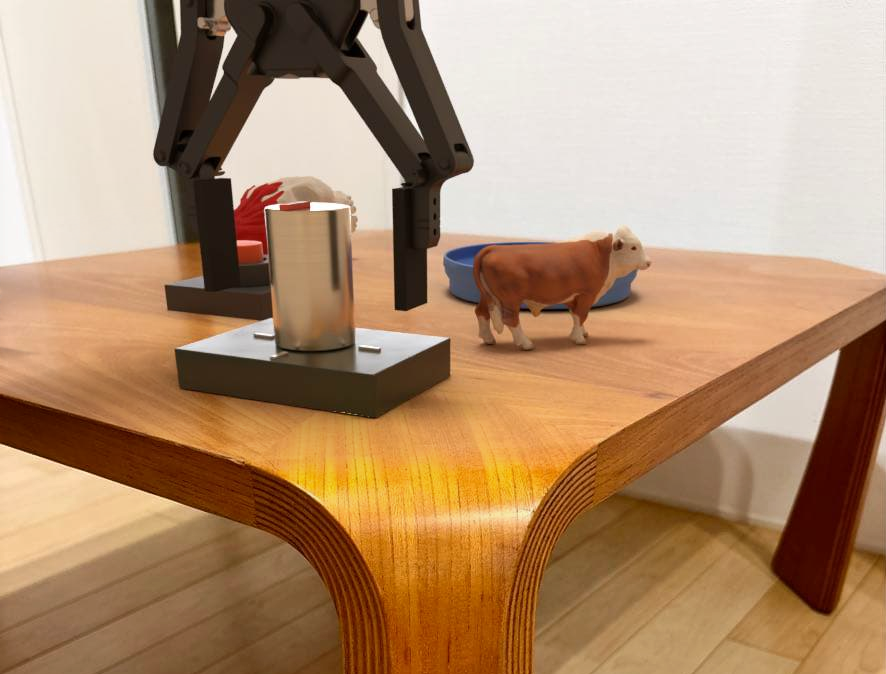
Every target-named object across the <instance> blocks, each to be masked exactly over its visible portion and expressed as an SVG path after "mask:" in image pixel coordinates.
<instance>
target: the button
mask: <svg viewBox="0 0 886 674" xmlns="http://www.w3.org/2000/svg"><path fill="white" fill-rule="evenodd" d="M237 250H238V260H239V263H253V262H261V261H264V259H263V246H262V242H259V241H250V240H238V241H237Z"/></svg>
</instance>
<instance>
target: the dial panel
mask: <svg viewBox="0 0 886 674" xmlns="http://www.w3.org/2000/svg"><path fill="white" fill-rule="evenodd" d="M355 339H356V340H355V343H354V344H352V345H350V346H348V347H345V348H341V349H336V350H329V351H293V350H287V349H283V348H280V347H278V346H277V345H276V344H275V338H274V325H273V318H269V319H266V320H263V321H261V320H259V321H257V322H254V323H251V324H247V325H244V326H241V327H238V328H235V329H232V330H228V331H225V332H222V333H219V334H216V335H213V336H210V337H207V338H204V339H200V340H198V341H194V342H191V343H188V344H185V345H181V346H178V347H175V348H174V358H175V365H176V374H177V380H178V388H179V389H182V390H188V391H189V390H190V391H196V392H202V393H209V394H216V395H222V396H229V397H235V398H241V399H246V400H247V399H248V400H254V401H261V402H267V403H274V404H279V405H287V406H294V407H299V408H306V409H312V408H314V409H313V410H319V409H322V410H321V411H325V410H328V411H327V412H332V411H336V412H335V413H338V412H345V413H351V414H357V415H356V416H358V415H363V416H362V417H364V416H369V417H368V418H371V417H376V416H377V417H379V416H381V415H383V414H384V412H385V413H386V412H388V411H390V410H392V409H394V408H396V407H397V406H400V405H401V404H403V403H405V402H406V401H408V400H409V398H410V399H411V398H413V397H415V396H417V395H418V394H420V393H422V392H425V390H427V389H429V388H432V387H434V385H436V384H438V383H440V382H442V381H444V380H445V379H447V378H449V377H450V376H451V337H445V336H435V335H427V334H419V333H418V334H417V333H407V332H399V331H391V330H383V329H381V330H380V329H373V328H363V327H355ZM393 407H394V408H393ZM315 408H316V409H315ZM345 413H344V414H345ZM382 413H383V414H382ZM351 414H350V415H351ZM380 414H381V415H380ZM378 415H379V416H378ZM377 417H376V418H377Z"/></svg>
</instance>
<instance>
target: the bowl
mask: <svg viewBox="0 0 886 674" xmlns="http://www.w3.org/2000/svg"><path fill="white" fill-rule="evenodd" d="M548 243H557V242H554V241H552V242H551V241H511V242H510V241H509V242H504V241H503V242H488V243H478V244H471V245H464V246H459V247H455V248H452V249H449V250H447V251H445V252H444V253H443V261H442V265H443V267H444V273H445V274H446V276H447V278H448V279H449V281H448V282H449V284H448V287H449V291H450V293H451V294H452V295H454V296H455V297H457V298H459V299H462V300H464V301H467V302H471V303H476V304H479V302H480V299H481V292H480V291H479V289H478V287H477V285H476V283H475V280H474V275H473V264H474V259H475V257H476V256H477V254H478V253H479V252H480V251H481V250H482V249H483V248H485V247H487V246H490V245H527V244H548ZM638 271H639V269H635V270H633V271H632V272H630V273H629V274H628V275H626V276H624V277H620V278H616V279H615V281H614V283H613V285H612V287H611V288H610V289H609V290H608V291H607V292H606V293H605V294H604V295H602V296H601V297H600V299H599V300H598V302H597V303H595V304H594V305H592V307H591V308H596V307H603V306H609V305H612V304H616V303H619V302H621V301H623V300H625V299H627V298H628V297H629V296H630V294H631V288H632V283H633V282H634V281H635V279H636V278H637V275H638ZM520 310H530V309H529V308H528V306H527V305H525V304H524V303H521V306H520ZM542 310H569V307H568V306H566V305H564V304H561V303H559V304H555V305H551V306H547V307H544V308H543V309H542Z"/></svg>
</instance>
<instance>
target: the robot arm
mask: <svg viewBox="0 0 886 674" xmlns="http://www.w3.org/2000/svg"><path fill="white" fill-rule="evenodd" d="M368 16H369V18H370V19H371V21H372V24H373V25H374V27H375V28H376V29H378V30H380V34H381V38H382V41H383V44H384V47H385V50H386V53H387V54H388V57H389V59H390V61H391V64H392V66H393V69H394V71H395V74H396V75H397V79H398V82H399V83H400V86H401V88H402V91H403V93H404V96H405V98H406V100H407V103H408V104H409V107H410V110H411V112H412V116H413V117H414V119H415V122H416V125H417V127H418V129H417V128H416V127H415V125H414V124H413V122H412V121H411V119H410V117H409V116H408V115H407V113H406V112H405V111H404V110H403V108H402V105H400V103H399V102H398V100H397V99H396V98H395V96H394V94H393V93H392V92H391V90H390V89H389V87H388V86H387V84H386V83H385V81H384V80H383V79H382V77H381V75H379V72H378V67H377V65H376V63H375V61H374V60H373V58H372V57H371V55H370V54H369V53H368V51H367V50H366V48H365V46H364V45H363V44H362V43H361V41H360V40H359V38H358V37H359V35H360V33H361V31H362V28H363V27H364V25H365V22H366V20H367V18H368ZM179 17H180V18H179V20H180V23H179V24H180V36H179V40H178V44H177V48H176V53H175V58H174V62H173V65H172V69H171V74H170V79H169V83H168V86H167V91H166V95H165V100H164V103H163V108H162V112H161V117H160V121H159V125H158V129H157V134H156V137H155V142H154V147H153V151H152V157H153V160H154V162H155V164H157V165H158V166H159V167H167V168H170V169H172V170H174V171H175V172H177V173H179V175H180V176H181V177H182V179H183V182H184V187H185V195H186V205H187V213H188V222H189V226H190V229H191V231H192V234H198V241H199V249H200V250H199V251H200V258H201V259H200V260H201V269H202V270H201V271H202V276H203V279H204V288H205V291H208V292H217V291H221V290H225V289H228V288H232V287H236V286H240V285H241V282H240V271H239V260H238V250H237V239H236V228H235V217H234V210H235V208H234V207H235V206H234V196H233V187H232V178H231V177H221V176H224V175H225V174H226V170H223V168H222V167H223V165H224V163H225V161H226V159H227V157H228V155H229V153H230V152H231V150H232V148H233V146H234V145H235V143H236V141H237V139H238V137H239V136H240V134H241V132H242V130H243V128H244V126H245V125H246V123H247V120H248V119H249V117H250V116H251V114H252V112H253V110H254V108H255V106H256V104H257V103H258V101H259V99H260V97H261V96H262V94H263V91H264V90H265V89H266V88H268V87H270V86H271V85H272V84H273V82H274V81H275V79H277V80H278V79H279V80H280V79H281V80H299V79H302V78H303V79H321V80H322V79H326V80H327V79H329V80H330V81H331V82H332V83H333V84H334V85H336V86H338V87H339V88H340V89H341V91H342V92H343V94H344V95H345V97H346V98H347V100H348V101H349V102H350V104H351V105H352V107H353V108H354V109H355V111H356V113H357V114H358V115H359V117H360V118H361V120H362V121H363V122H364V124H365V125H366V127H367V128H368V129H369V131H370V132H371V135H373V137H374V138H375V139H376V141H377V142H378V144H379V145H380V147H381V149H382V150H383V151H384V152H385V154H386V156H387V157H388V158H389V159H390V161H391V163H392V164H393V166H394V167H395V169H396V170H397V171H398V173H399V174H400V175H401V177H402V178H403V182H401V183H400V187H395V188H392V189H391V205H392V207H391V208H392V211H391V212H392V247H393V248H392V249H393V252H392V254H393V257H392V258H393V296H394V297H393V298H394V299H393V300H394V311H400V312H408V311H411V310H413V309H415V308H418V307H421V306H424V305H426V304H428V249H432V248H436V247H438V245H439V242H440V240H441V191H442V187H443V185H444V183H445V182H447V181H448V180H450V179H453V178H456V177H458V176H461V175H462V174H467V173H469V172H471V171H472V170H473V167H474V164H475V159H474V155H473V153H472V150H471V148H470V145H469V142H468V141H467V138H466V135H465V132H464V130H463V129H462V125H461V123H460V121H459V118H458V115H457V113H456V111H455V108H454V106H453V102H452V101H451V98H450V96H449V93H448V91H447V87H446V86H445V84H444V80H443V78H442V75H441V73H440V71H439V68H438V66H437V64H436V63H437V62H436V61H435V58H434V56H433V53H432V50H431V48H430V47H429V43H428V41H427V38H426V36H425V33H424V31H423V28H422V19H421V17H422V16H421V9H420V0H179ZM231 29H233V31H234V33H235V34H236V37H235V40H234V41H233V43H232V44H231V47H230V49H229V50H228V53H227V55H226V57H225V58H224V61H223V63H222V66H221V70H222V71H223V74H222V76H221V78H220V80H219V82H218V84H217V85H216V88H215V90H214V86H215V82H216V78H217V75H218V71H219V66H220V63H221V59H222V56H223V50H224V45H225V36H226V34H227V32H230V31H231ZM213 90H214V91H213ZM212 93H213V94H212ZM418 130H419V131H418ZM419 132H420V133H419Z"/></svg>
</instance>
